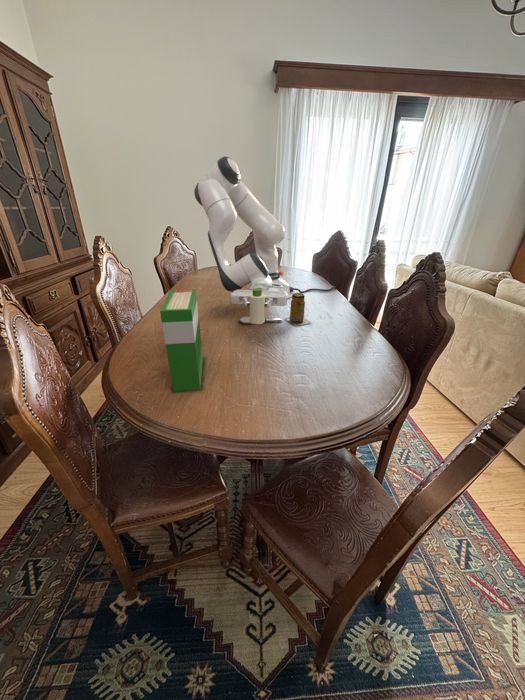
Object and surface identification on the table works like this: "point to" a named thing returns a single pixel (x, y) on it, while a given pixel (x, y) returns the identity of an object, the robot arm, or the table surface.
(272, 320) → the spoon
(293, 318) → the condiment
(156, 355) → the table surface
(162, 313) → the hardback book
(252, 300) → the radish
